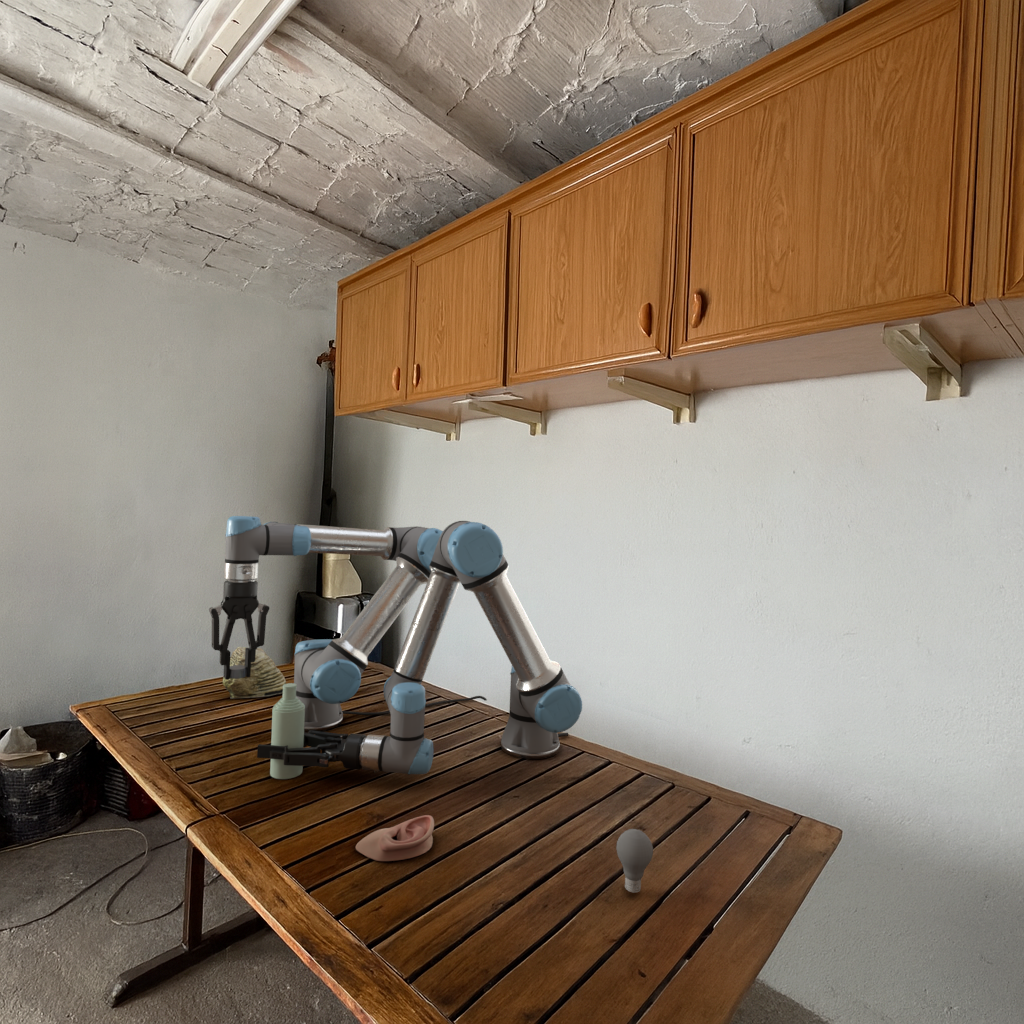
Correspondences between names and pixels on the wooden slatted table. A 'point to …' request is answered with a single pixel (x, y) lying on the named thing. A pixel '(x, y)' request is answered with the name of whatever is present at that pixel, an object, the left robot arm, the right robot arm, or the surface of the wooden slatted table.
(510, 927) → the wooden slatted table surface
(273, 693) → the fossil
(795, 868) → the wooden slatted table surface
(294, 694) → the bottle
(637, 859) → the light bulb
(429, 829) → the anatomical model
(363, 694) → the wooden slatted table surface
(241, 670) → the cap
